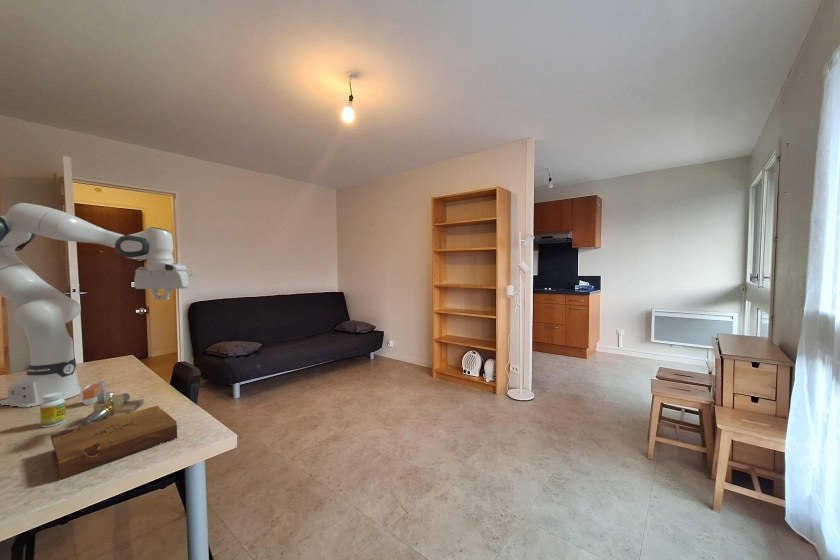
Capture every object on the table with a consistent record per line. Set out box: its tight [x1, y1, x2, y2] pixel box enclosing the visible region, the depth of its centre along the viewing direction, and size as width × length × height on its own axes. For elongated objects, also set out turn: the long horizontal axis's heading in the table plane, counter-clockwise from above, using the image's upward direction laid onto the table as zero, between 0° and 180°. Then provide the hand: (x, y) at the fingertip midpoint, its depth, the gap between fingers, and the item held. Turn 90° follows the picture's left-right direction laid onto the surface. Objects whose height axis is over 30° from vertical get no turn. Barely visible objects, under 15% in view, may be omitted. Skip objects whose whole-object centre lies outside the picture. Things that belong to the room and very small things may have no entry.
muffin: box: [78, 384, 97, 406], centre depth 119 cm, size 6×6×7 cm
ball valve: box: [84, 392, 131, 425], centre depth 108 cm, size 20×5×6 cm, turn 20°
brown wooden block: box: [50, 405, 178, 480], centre depth 90 cm, size 23×19×6 cm
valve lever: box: [82, 379, 115, 405], centre depth 101 cm, size 17×3×7 cm, turn 29°
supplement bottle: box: [39, 392, 67, 428], centre depth 103 cm, size 5×5×10 cm
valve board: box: [67, 398, 145, 430], centre depth 108 cm, size 20×11×2 cm, turn 20°
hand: (162, 299), depth 134 cm, fingers closed
